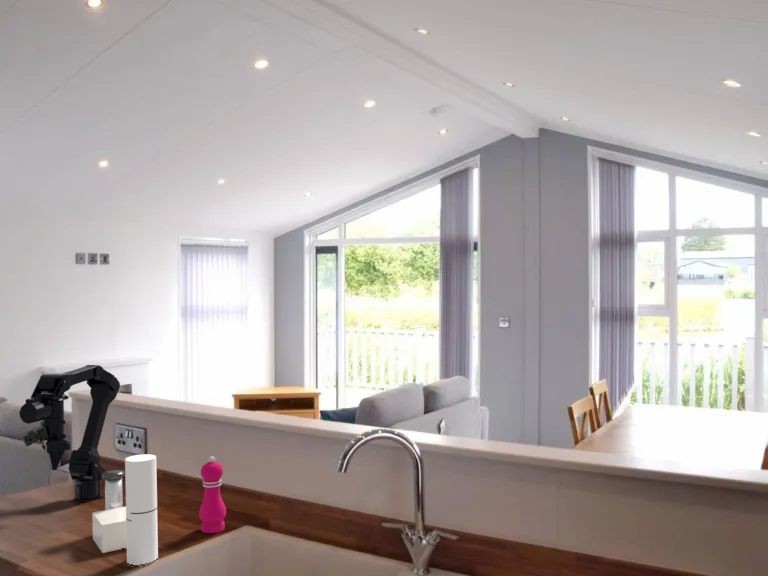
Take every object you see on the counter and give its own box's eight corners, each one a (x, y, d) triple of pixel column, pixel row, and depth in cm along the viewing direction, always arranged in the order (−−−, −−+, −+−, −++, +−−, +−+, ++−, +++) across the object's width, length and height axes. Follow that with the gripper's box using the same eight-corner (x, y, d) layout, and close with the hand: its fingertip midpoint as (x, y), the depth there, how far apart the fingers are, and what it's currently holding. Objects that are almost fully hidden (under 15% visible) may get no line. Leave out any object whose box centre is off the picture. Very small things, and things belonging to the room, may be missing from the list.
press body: (92, 538, 186) (92, 512, 186) (139, 529, 192) (139, 504, 192) (102, 553, 176) (102, 525, 176) (151, 542, 182) (150, 515, 182)
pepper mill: (222, 534, 188) (221, 459, 188) (195, 534, 188) (194, 459, 188) (229, 524, 195) (228, 453, 195) (203, 525, 195) (202, 453, 195)
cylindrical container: (148, 567, 166) (146, 462, 166) (120, 565, 168) (119, 461, 168) (163, 555, 173) (161, 454, 173) (137, 554, 175) (135, 453, 175)
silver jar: (101, 529, 192) (100, 472, 192) (122, 525, 195) (121, 468, 195) (113, 546, 180) (112, 484, 179) (136, 541, 183) (135, 481, 183)
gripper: (19, 415, 210) (19, 467, 210) (26, 425, 194) (27, 481, 194) (59, 411, 216) (60, 461, 216) (70, 420, 200) (71, 475, 200)
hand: (54, 470), depth 206 cm, fingers closed
